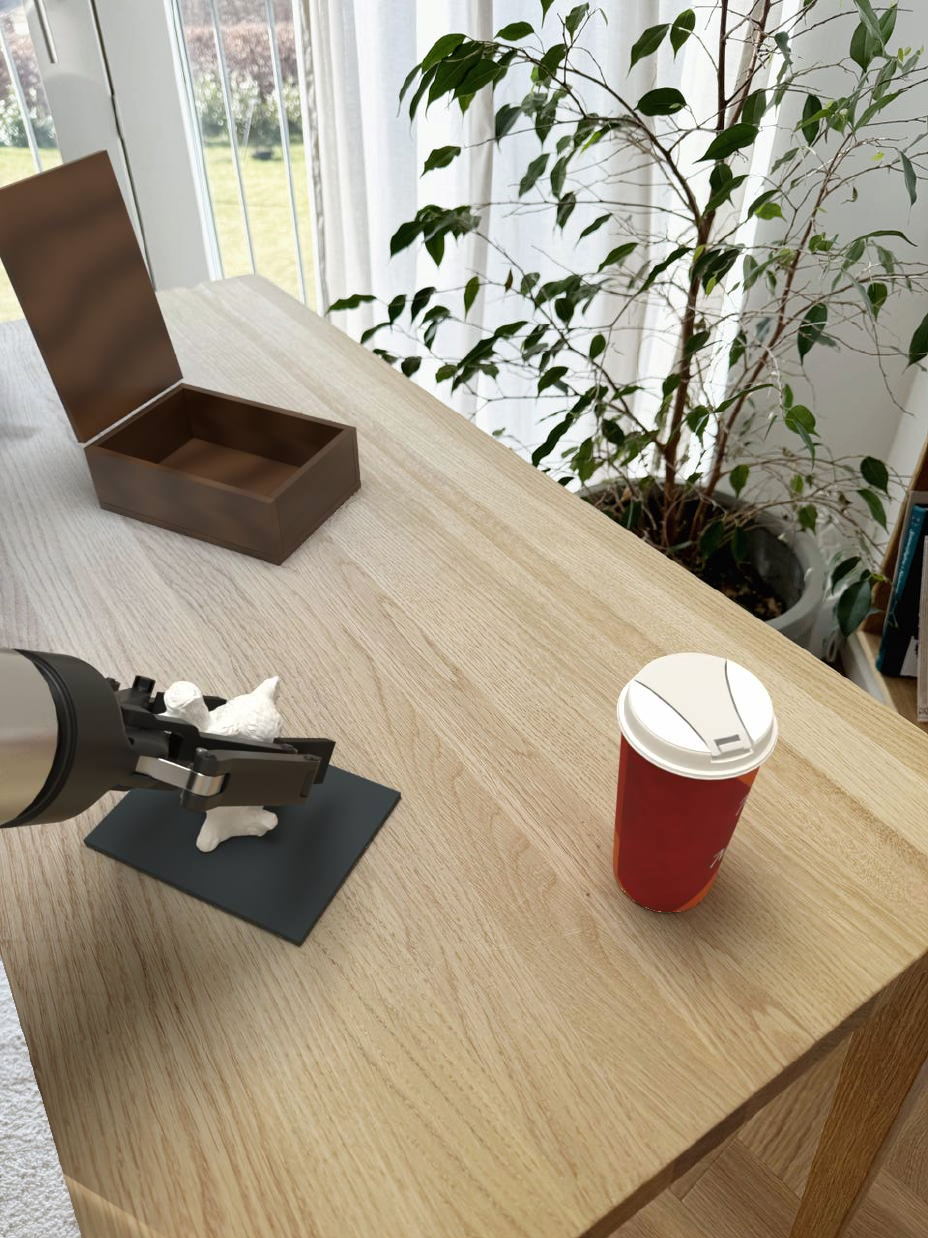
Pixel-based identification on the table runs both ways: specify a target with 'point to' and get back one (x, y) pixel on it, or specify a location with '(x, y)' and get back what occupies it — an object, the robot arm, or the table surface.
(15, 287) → the chest lid
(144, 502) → the chest
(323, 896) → the mat
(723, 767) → the coffee cup
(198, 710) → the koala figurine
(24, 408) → the table surface
